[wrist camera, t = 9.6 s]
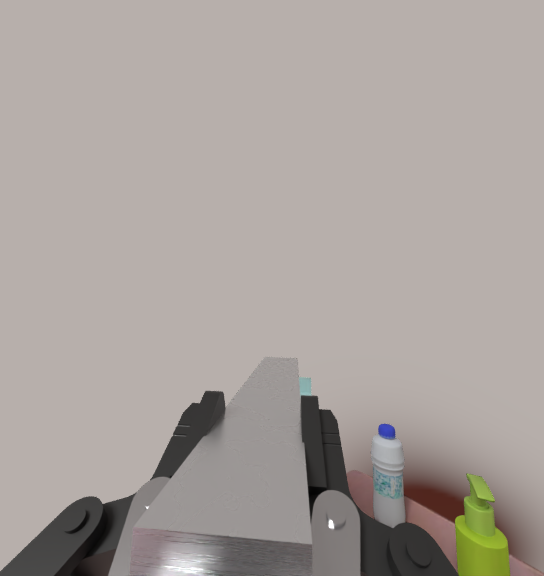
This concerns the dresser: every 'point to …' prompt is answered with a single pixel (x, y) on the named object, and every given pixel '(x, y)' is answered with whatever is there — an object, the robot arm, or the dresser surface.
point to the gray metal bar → (236, 491)
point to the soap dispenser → (480, 535)
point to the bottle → (388, 477)
